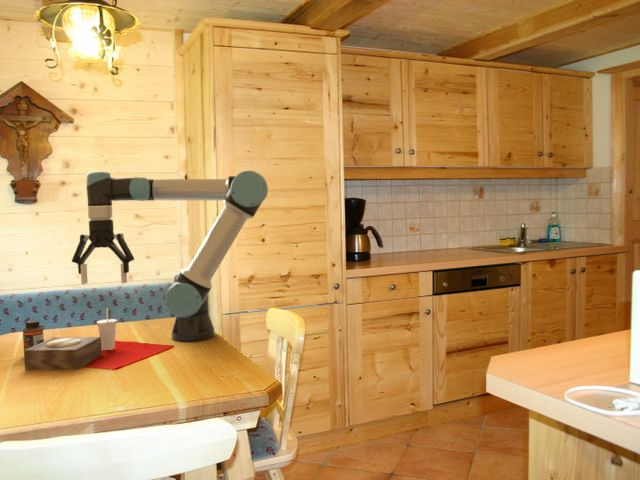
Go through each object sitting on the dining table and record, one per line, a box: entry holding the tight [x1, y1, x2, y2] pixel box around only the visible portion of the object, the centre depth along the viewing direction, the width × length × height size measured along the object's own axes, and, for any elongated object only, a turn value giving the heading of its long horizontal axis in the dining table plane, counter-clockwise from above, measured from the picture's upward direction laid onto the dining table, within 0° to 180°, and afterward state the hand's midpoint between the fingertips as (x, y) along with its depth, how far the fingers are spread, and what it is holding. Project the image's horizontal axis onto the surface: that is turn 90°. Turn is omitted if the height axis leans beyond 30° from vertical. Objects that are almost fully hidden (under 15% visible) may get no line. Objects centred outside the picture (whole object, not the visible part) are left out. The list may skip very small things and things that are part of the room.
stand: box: [23, 336, 103, 371], centre depth 176 cm, size 16×16×6 cm
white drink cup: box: [96, 307, 118, 352], centre depth 191 cm, size 6×6×14 cm
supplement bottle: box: [22, 319, 45, 351], centre depth 186 cm, size 6×6×11 cm
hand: (104, 283), depth 190 cm, fingers open, 13 cm apart
